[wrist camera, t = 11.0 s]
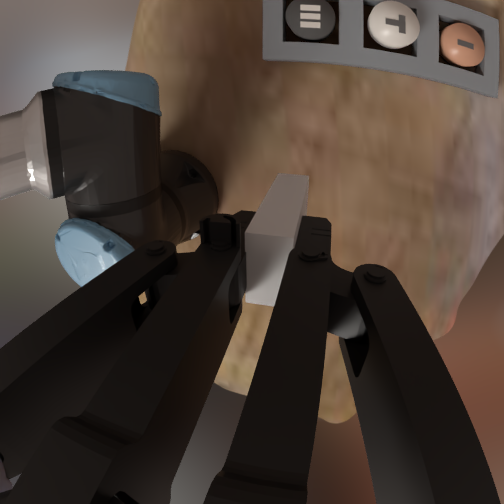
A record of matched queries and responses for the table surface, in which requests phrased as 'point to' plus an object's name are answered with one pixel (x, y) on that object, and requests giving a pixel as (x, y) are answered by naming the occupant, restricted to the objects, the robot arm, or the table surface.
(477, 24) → the panel
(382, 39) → the button white
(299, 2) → the button black
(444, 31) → the button terracotta
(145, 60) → the table surface
